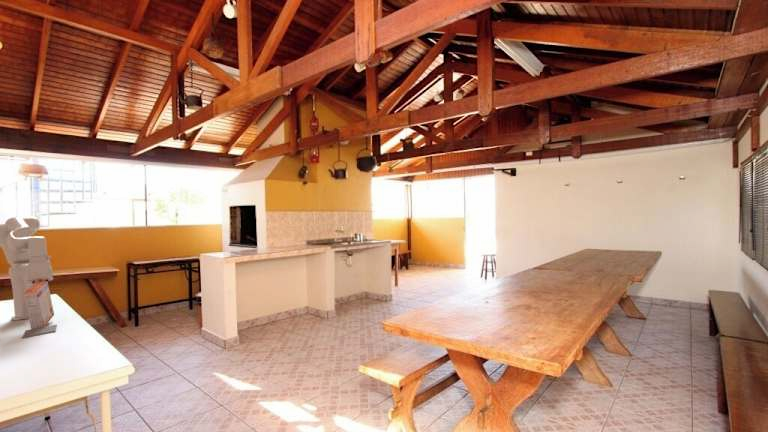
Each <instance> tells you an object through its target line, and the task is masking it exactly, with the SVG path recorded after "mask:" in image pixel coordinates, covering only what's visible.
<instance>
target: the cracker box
mask: <svg viewBox="0 0 768 432" xmlns="http://www.w3.org/2000/svg"><path fill="white" fill-rule="evenodd" d="M23 295H24V300H25V304H26V308H27V313H28V317H29V318H28V321H29V326H30V329H35V328H40V327H46V326H48V324H49V322H50V321H51V319H52V318H53V317H54V316H55V311H54V307H53V306H54V305H53V301H52V298H51V292H50V286H49V281H45V282H42V281H39V282H35V283H34V284H33V285H32V286H31V287H30V288H29V289H28V290H27V291H26V292H25V293H24V294H23Z"/></svg>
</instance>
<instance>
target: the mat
mask: <svg viewBox="0 0 768 432" xmlns="http://www.w3.org/2000/svg"><path fill="white" fill-rule="evenodd" d="M57 325H58V324H51V325H46V326H45V327H40V328H35V329H31V328H30V329H26V330H24V333H23V334H22V336H21V339H25V338H26V339H27V338H32V337H36V336H41V335H47V334H51V333H56V330H57Z"/></svg>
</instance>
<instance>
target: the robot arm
mask: <svg viewBox="0 0 768 432" xmlns="http://www.w3.org/2000/svg"><path fill="white" fill-rule="evenodd" d="M40 226H41V225H40V221H39V219H38V217H35V216H19V217H18V216H16V217H11V218H8V219H7V220H6V221H5V223H2V224H0V248H1V249H2V250H3V253H4V256H5V258H6V261H7V263H8V265H10V267H9V269H8V275H9V278H10V283H11V288H12V289H11V290H12V297H13V298H12V300H13V309H14V316H11V318H10V320H11V321H20V320H27V319H29V317H28V313H27V308H26V304H25V300H24V295H23V294H24V293H25V292H26V291H27V290H28V289H29V288H30V287H31V286H32V285H33V284H34V283H35V282H40V281H41V282H45V281H48V282H50V281H53V280H54V276H53V274H54V273H53V268H52V263H51V260H50V259H52V255H48V247H47V239H46V237H45V236H42V235H41V236H40V235H39V236H33V235H34V234H35V233H36V232H38V231H39V228H40Z"/></svg>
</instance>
